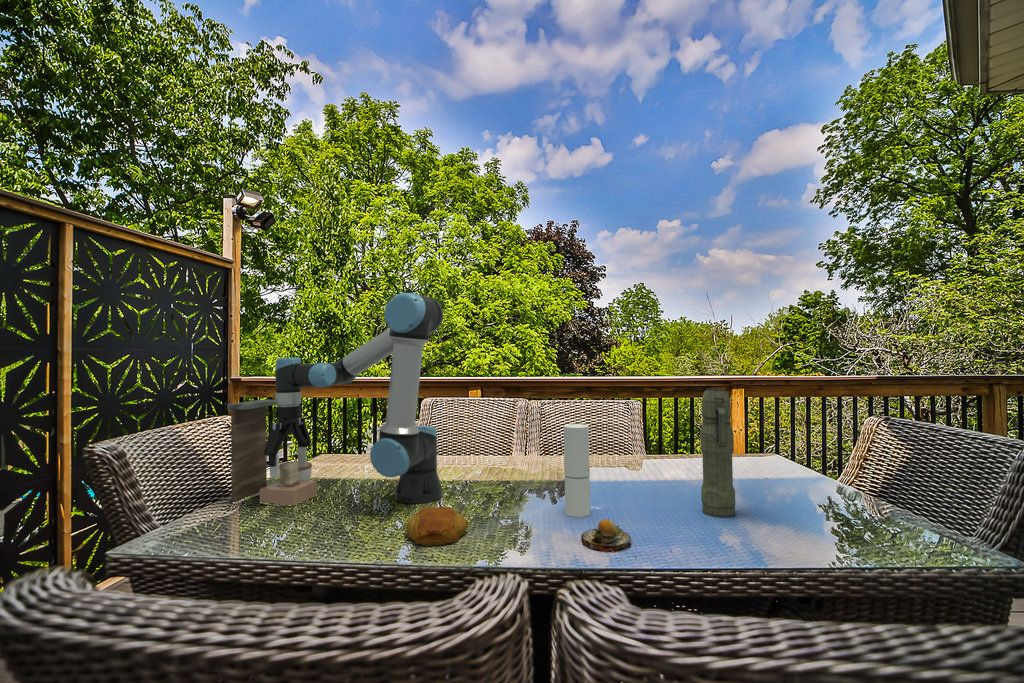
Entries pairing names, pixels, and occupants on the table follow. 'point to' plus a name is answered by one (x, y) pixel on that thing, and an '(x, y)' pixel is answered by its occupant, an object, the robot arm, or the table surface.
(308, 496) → the socket block
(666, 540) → the table surface
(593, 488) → the table surface
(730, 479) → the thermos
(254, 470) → the capped wooden panel
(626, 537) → the wood slice egg decoration
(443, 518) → the croissant
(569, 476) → the cylindrical container
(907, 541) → the table surface
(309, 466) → the lidded jar
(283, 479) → the peg
